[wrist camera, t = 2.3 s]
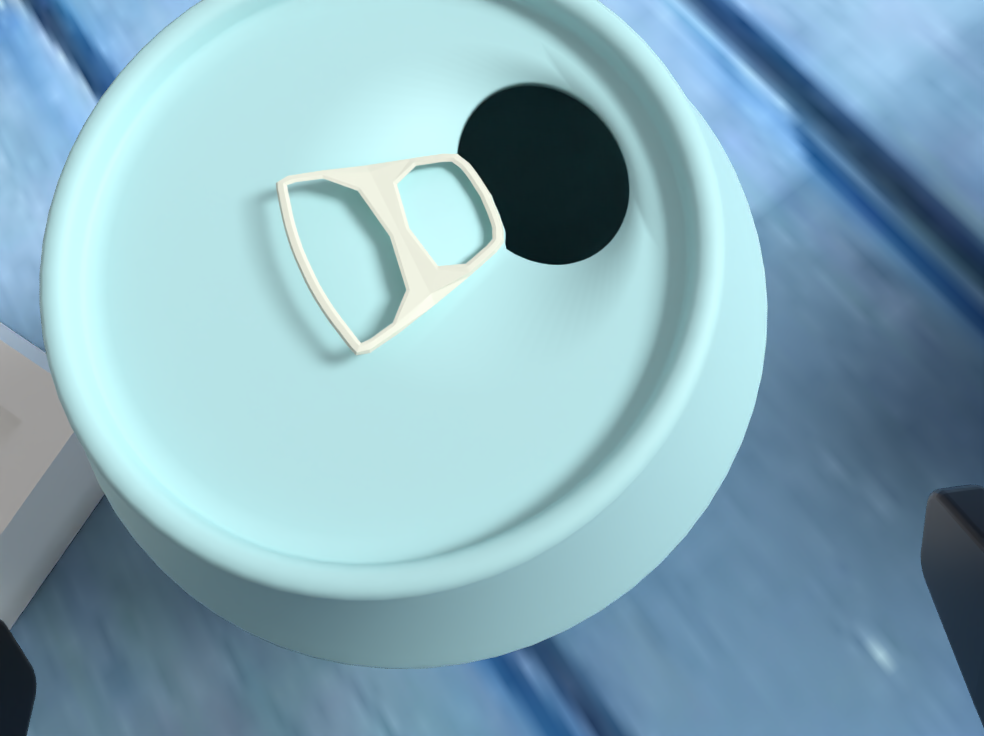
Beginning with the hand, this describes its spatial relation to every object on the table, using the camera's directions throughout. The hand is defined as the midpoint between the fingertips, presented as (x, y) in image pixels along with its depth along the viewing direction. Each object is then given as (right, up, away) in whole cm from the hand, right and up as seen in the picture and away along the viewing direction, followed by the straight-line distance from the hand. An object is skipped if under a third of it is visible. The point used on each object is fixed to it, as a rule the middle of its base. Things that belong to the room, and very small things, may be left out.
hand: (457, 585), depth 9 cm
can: (0, 0, +11) cm, 10 cm away
